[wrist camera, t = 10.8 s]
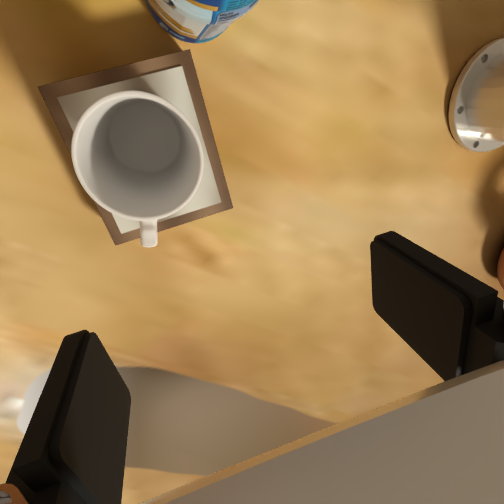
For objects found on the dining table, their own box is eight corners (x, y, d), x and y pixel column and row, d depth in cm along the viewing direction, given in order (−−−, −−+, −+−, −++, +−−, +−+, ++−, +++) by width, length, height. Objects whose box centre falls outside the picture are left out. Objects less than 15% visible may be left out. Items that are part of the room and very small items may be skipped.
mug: (97, 90, 26) (59, 85, 15) (184, 96, 27) (203, 95, 17) (113, 212, 30) (90, 275, 19) (187, 210, 32) (204, 267, 21)
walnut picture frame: (185, 55, 30) (190, 49, 26) (225, 197, 36) (233, 208, 33) (52, 88, 28) (36, 86, 24) (119, 230, 35) (115, 246, 31)
